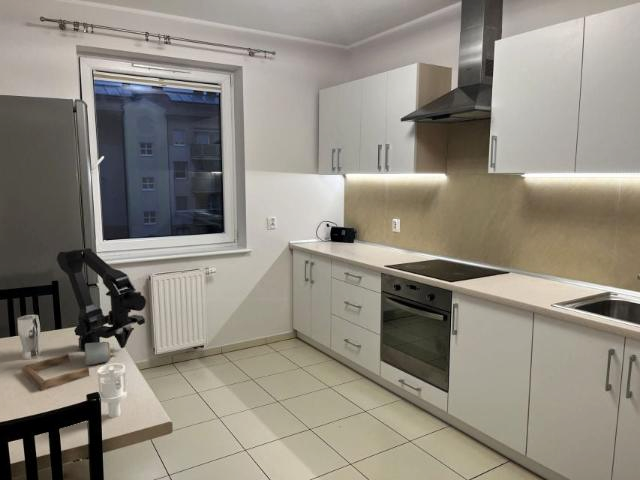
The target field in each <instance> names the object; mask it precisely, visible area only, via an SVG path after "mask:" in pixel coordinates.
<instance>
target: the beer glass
mask: <svg viewBox="0 0 640 480" xmlns="http://www.w3.org/2000/svg"><path fill="white" fill-rule="evenodd" d="M17 332H18V337H19V340H20V344H21V346H22V353H21V354H22V359H23V360H32V359H36V358H39V357H40V356H41V355H42V351H41V348H40V337H41V324H40V319H39V315H38V314H26V315H23V316H20V317H17Z"/></svg>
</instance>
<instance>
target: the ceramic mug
mask: <svg viewBox="0 0 640 480" xmlns="http://www.w3.org/2000/svg"><path fill="white" fill-rule="evenodd" d="M84 356H85V357H84V358H85V365H86V366H91V365H96V364H102V363H103V364H104V363H107V362H109V361H110V360H111V344H110V343H109V342H108V341H100V342H97V343H86V344H85V351H84Z"/></svg>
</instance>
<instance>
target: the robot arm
mask: <svg viewBox="0 0 640 480" xmlns="http://www.w3.org/2000/svg"><path fill="white" fill-rule="evenodd" d="M56 261H57V264H58V265H59V268H60V269H61V270H62V271H63V272H64V273H65V274H66V275H67V276H68V279H69V282H70V286H71V288H72V291H73V293H74V296H75V299H76V303H77V305H78V308H79V311H78V312H79V313H78V317H77V320H78V325H76V327H75V328H74V330H73V331H74V335H75V336H78V348H79V349H80V350H81V351H83V352H85V344H86V343H97V342H101V339H100V338H102V339H109V338H113V337H115V340H116V342H117V344H118V345H119V347H120V348H121V349H124V348H125V347H126V345H127V342H128V340H129V338H130V336H131V334H132V332H133V331H134V330H135V328H134V327H132V325H133V324H137V325H139V326H141V325H143V324H145V323H146V319H145V317H144V316H143V315H139V314H132V315H129V313H131V312H132V311H135V312H141V311H143V310H144V309H145V308H146V305H147V300H146V297H145V296H144V295H142V292H141V291H137V290H136V288H135V286H134V284H133V283H132V281H131V279H130V277H129V276H128V274H127V273H125V272H123V271H121V270H119V269H115V268H113V267H112V266H110V265H109V264H108V263H107V262H105V261H104V260H103V259H102V258H101V257H100V256H99V255H98V254H96V252H94V251H93V249H92V248H90V247H85V248H80V249H76V248H75V249H74V248H73V249H68V250H63V251H59V252H58V254H57V256H56ZM84 265H87V266H88V267H89V269H91V270H92V271H93V272H95V273H96V274H97V275H98V276H99V277H100V278H101V280H102V283H103V285H104V286H105V288H107V289H108V291H107V292H106V293H105V296H108V297H110V310H109V311H108V314H106V315H104V313H103V310H102V308H101V307H99V308H98V307H96V306H95V304H94V302H93V299H92V297H91V296H92V295H91V293H90V290H89V287H88V285H87V282H86V279H85V275H84V272H83V267H84ZM107 324H108V325H107Z"/></svg>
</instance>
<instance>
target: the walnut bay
mask: <svg viewBox="0 0 640 480" xmlns="http://www.w3.org/2000/svg"><path fill="white" fill-rule="evenodd" d="M69 362H70V355H69V353H65V354H62V355H58V356H56V357H55V356H54V357H51V358H49V359H44V360H41V361H36V362H33V363H29V364H27V365H22V366H21V368H22V374H23V375H24V376H25V377H26V378H27V379H29V381H31V383H33V384H34V385H35V386H36V387H37V388H38V389H39V390H41V392H42V391H46V390H49V389H51V388H56V387H59V386H62V385H64V384H68V383H71V382H74V381H77V380H81V379H84V378H87V377H90V369H89V367H84V368H82V369H78V370H74V371H71V372H68V373H64V374H61V375H58V376H55V377H51V378H48V379H44V378H43V377H42V376H41V375H39V374H38V373H37V372H38V371H41V370H45V369H49V368H51V367H55V366H56V367H57V366H60V365H62V364H63V365H64V364H66V363H69Z"/></svg>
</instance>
